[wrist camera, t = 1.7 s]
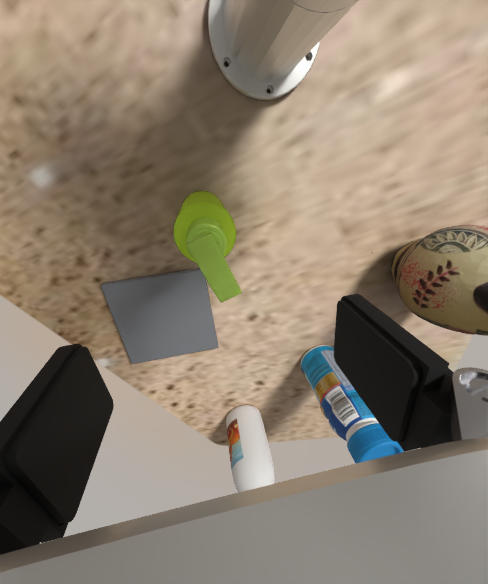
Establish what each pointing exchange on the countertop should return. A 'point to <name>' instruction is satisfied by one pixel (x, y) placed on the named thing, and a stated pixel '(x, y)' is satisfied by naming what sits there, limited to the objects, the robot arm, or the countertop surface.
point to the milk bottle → (249, 449)
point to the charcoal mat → (162, 314)
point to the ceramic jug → (447, 278)
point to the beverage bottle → (345, 407)
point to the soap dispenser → (208, 240)
